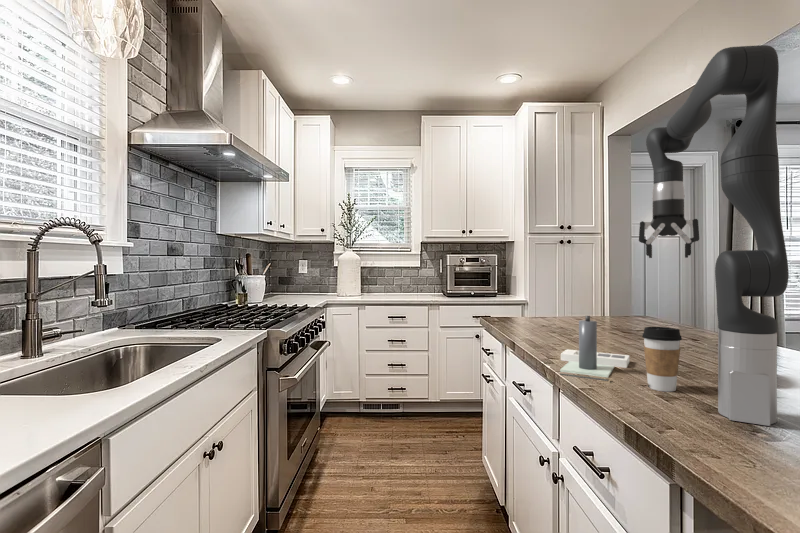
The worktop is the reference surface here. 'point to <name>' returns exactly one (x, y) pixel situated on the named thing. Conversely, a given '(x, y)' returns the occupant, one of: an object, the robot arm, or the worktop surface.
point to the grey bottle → (588, 344)
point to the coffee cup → (662, 357)
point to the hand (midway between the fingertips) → (668, 257)
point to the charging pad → (587, 371)
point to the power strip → (598, 358)
